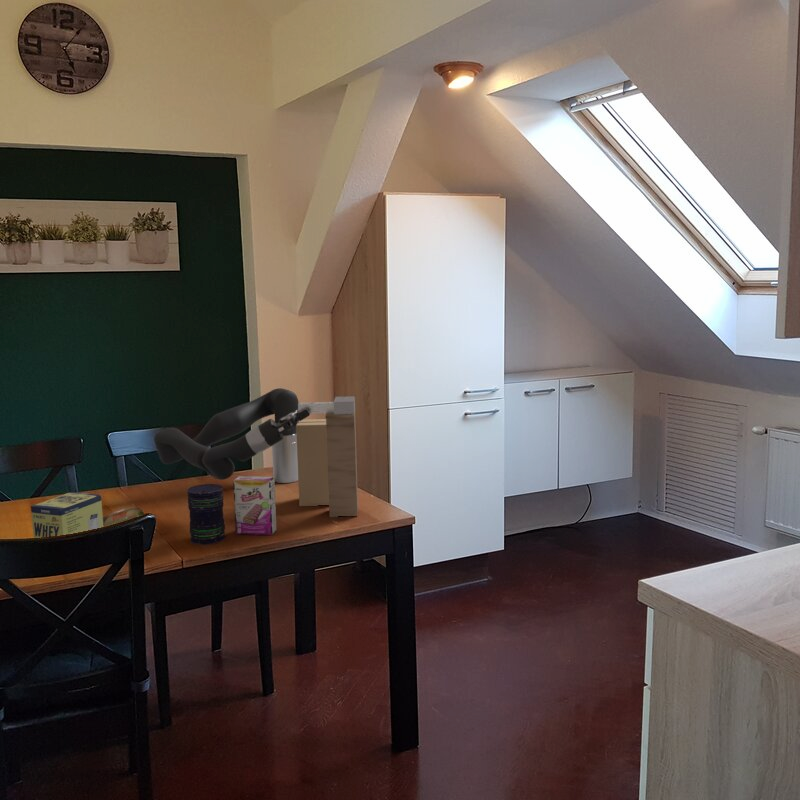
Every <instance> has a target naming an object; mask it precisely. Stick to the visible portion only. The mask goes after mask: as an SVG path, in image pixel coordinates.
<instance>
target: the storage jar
mask: <svg viewBox="0 0 800 800" xmlns="http://www.w3.org/2000/svg"><path fill="white" fill-rule="evenodd" d="M186 491H187V504H188V505H187V507H188V510H189V535H190V543H191V542H192V544H193V543H194V545H197V546H198V545H199V546H208V545H209V546H211V545H216V544H218V543H222V542H224V541H225V540H226V525H225V518H224V493H223V486H222V485H220V484H216V483H215V484H214V483H207V484H198V485H193V486H190V487H188V488H187V490H186ZM224 539H225V540H224ZM221 541H222V542H221ZM215 543H216V544H215ZM210 544H211V545H210Z"/></svg>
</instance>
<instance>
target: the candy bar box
mask: <svg viewBox="0 0 800 800" xmlns="http://www.w3.org/2000/svg"><path fill="white" fill-rule="evenodd" d="M275 483H276V482H275V478H274V477H273V476H252V475H251V476H250V475H249V476H248V475H247V476H246V475H238V476H237V477H235V478H234V479H233V500H234V501H233V504H234V520H235V521H234V524H235V525H234V526H235V535H253V534H254V535H255V536H256V535H257V536H258V535H259V536H260V535H263V536H264V535H265V536H272V535H274V534H275V532H276V531H277V512H276V510H277V509H276V485H275Z"/></svg>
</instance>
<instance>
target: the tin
mask: <svg viewBox="0 0 800 800" xmlns="http://www.w3.org/2000/svg"><path fill="white" fill-rule="evenodd" d="M143 515H145V513H144V511H143V510H142V509H141V508H140V507H134V506H131V507H126V508H122V509H120V510H118V511H114V512H110V513H108V514H106V515H103V526H109V525H112V524H115V523H119V522H123V521H127V520H129V519H132V518H135V517H139V516H143Z"/></svg>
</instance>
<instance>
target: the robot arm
mask: <svg viewBox="0 0 800 800" xmlns="http://www.w3.org/2000/svg"><path fill="white" fill-rule="evenodd" d="M298 403H300V402H299V399H298V396H297V394H295V392H293V391H292V390H289V389H286V388H283V387H282V388H281V387H280V388H274V389H271V390H270V391H269V392H266V393H265V394H263V395H261V396H258V397H257V398H255V399H253V400H250V401H248V402H245V403H242V404H240V405H237V406H234V407H231V408H228V409H225V410H224V411H221V412H219V413H218V412H217V413H216V414H214V415H213V416H212V417H210V419H209V420H208V422H206V424H205V425H204V427H203V428H202V430H201V431H200V432H199V433H198V434H197V435H196V436H195V437H194V438H190V436H188V435H187V434H185V432H183V431H182V430H180V429H179V428H177V427H166V428H162V429H160V430H159V431H157V432H156V433H155V434H154V437H153V441H154V446H155V448H156V452H157V454H158V456H159V459H160V461H161V463H162V464H165V465H170V464H174V463H177V462H179V461H182V460H185V461H187V463H189V464H190V465H192V466H194V467H196V468H199V469H201V470H203V471H205V472H206V473H207V474H208V475H210V476H211V477H212V478H215V479H216V480H221V481H223V480H226V479H229V478H231V477H232V475H234V472H235V469H236V467H235V463H234V462H233V461H232V459H231V458H235V459H237V460H238V461H240V462H246V461H248V460H250V459H251V458H253V457H254V456H256V455H258V454H260V453H262V452H264V451H266V450H268V449H269V448H271V449H272V450H271V451H272V452H271V453H272V454H271V456H272V475H273V476H272V477H274V478H275V483H277V484H287V483H289V484H291V483H295V482H298V459H297V435H296V425H297V424H298V423H299V421H301V420H306V418H308V417H309V416H311V414H310V413H309V412H308V410H307V409H305V410H303V411H302V412H300V413H298ZM272 415H274V419H272V418H269V419H267V420H265V421H263V422H261V424H258V425H257V426H255V427H254V428H252V429H250V430H249V431H248V432H247V433H245V434H244V435H242V436H240V437H239V438H237V439H236V440H233V441H229V442H227V443H221V444H220V445H219V444H218V445H215V444H217V443H219V442H222V441H225V440H227V439H230V438H232V437H234V436H237V435H239V434H241V433H244V431H246V430H247V429H249V428H250V427H252V425H253V424H255V423H256V422H258V421H259V420H261V419H264V418H266V417H270V416H272ZM213 445H215V446H213ZM210 446H213V447H210Z"/></svg>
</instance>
